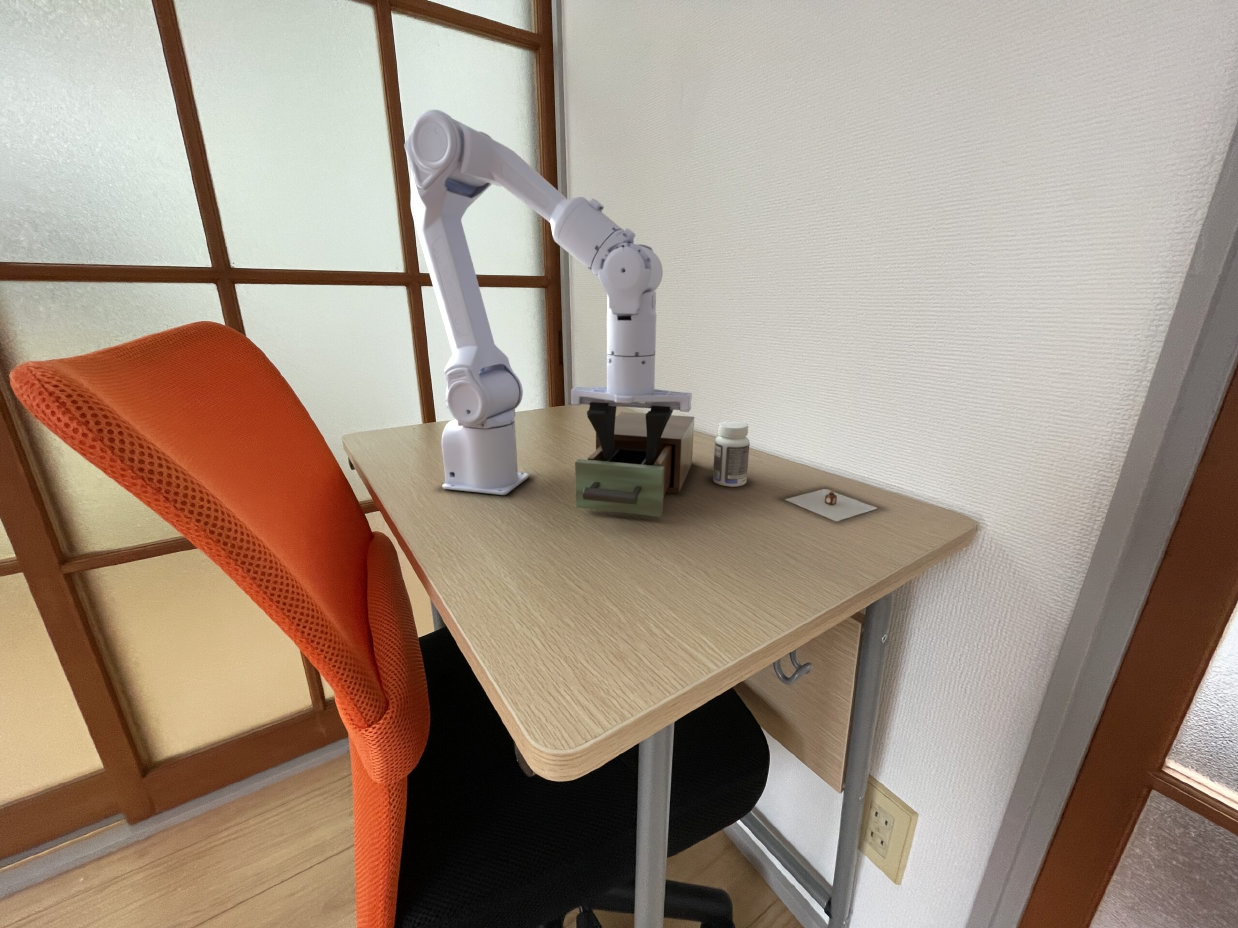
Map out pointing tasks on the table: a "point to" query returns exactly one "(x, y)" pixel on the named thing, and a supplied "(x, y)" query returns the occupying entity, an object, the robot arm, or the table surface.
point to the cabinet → (661, 441)
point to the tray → (629, 456)
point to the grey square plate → (831, 504)
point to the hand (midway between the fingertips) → (629, 463)
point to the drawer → (624, 481)
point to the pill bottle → (731, 454)
